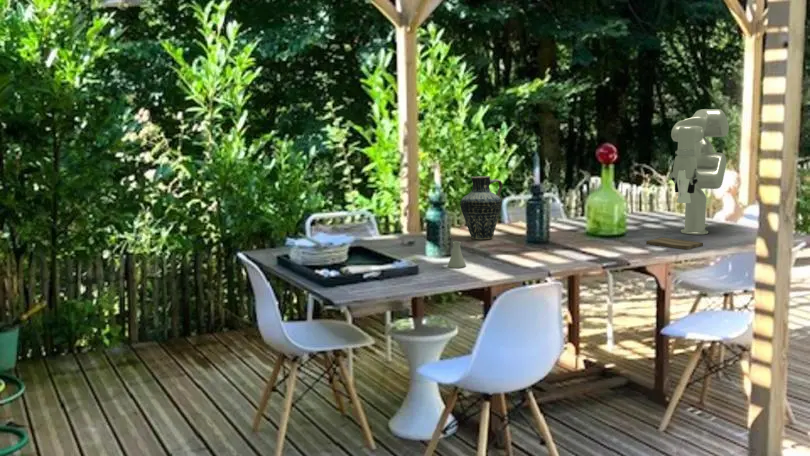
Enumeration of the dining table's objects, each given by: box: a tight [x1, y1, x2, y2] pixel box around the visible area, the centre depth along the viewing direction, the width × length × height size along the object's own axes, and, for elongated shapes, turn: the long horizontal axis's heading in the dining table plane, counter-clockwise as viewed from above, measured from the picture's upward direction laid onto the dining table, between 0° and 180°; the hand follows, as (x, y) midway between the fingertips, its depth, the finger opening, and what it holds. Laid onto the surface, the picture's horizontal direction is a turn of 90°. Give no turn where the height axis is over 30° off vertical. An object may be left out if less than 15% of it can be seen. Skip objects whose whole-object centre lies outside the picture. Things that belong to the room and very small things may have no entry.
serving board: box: [645, 237, 704, 251], centre depth 371 cm, size 14×20×2 cm
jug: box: [459, 175, 504, 240], centre depth 392 cm, size 21×19×30 cm
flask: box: [447, 241, 467, 269], centre depth 326 cm, size 7×7×10 cm
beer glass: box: [676, 170, 693, 204], centre depth 378 cm, size 7×7×15 cm
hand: (684, 192), depth 378 cm, fingers closed on beer glass, 6 cm apart
